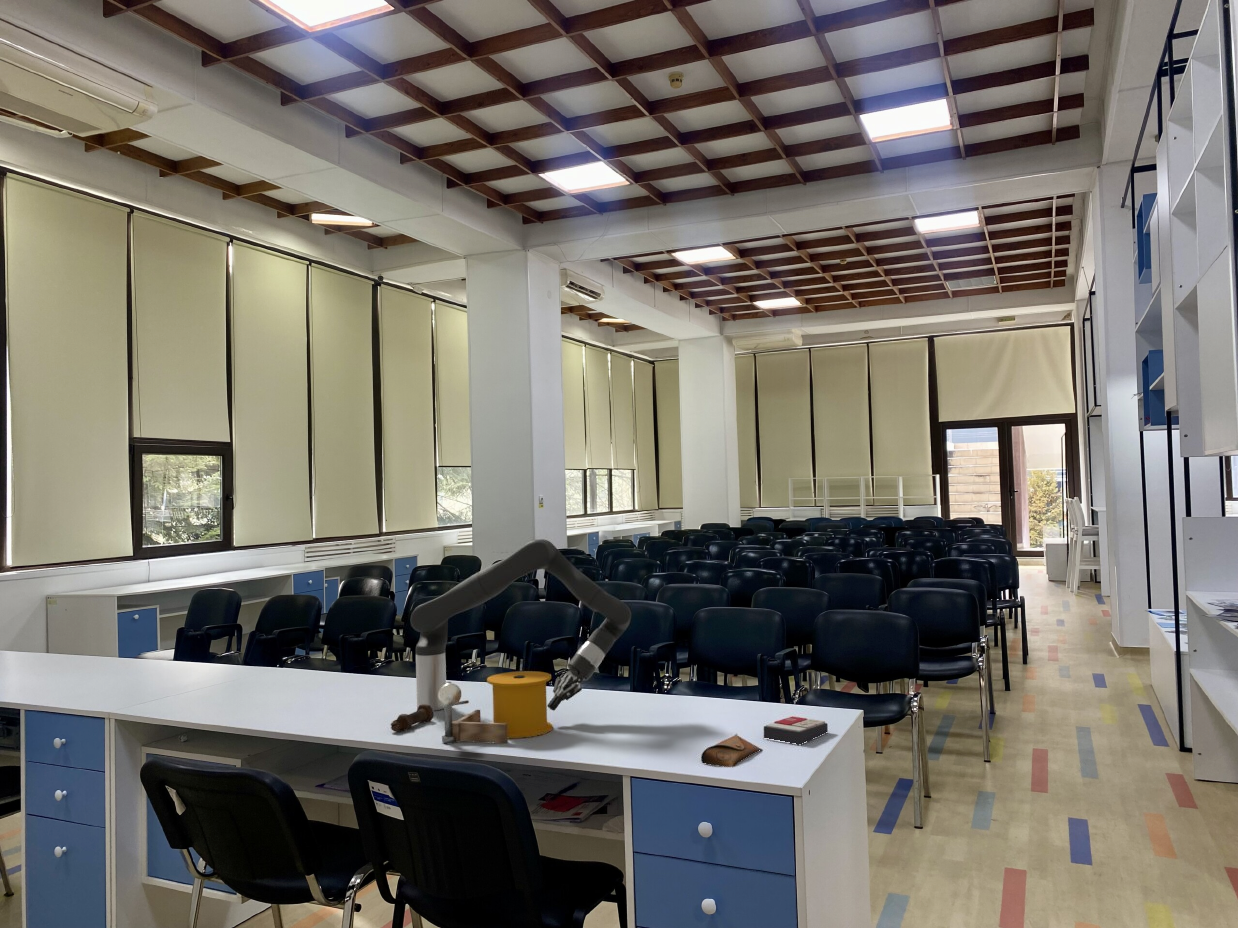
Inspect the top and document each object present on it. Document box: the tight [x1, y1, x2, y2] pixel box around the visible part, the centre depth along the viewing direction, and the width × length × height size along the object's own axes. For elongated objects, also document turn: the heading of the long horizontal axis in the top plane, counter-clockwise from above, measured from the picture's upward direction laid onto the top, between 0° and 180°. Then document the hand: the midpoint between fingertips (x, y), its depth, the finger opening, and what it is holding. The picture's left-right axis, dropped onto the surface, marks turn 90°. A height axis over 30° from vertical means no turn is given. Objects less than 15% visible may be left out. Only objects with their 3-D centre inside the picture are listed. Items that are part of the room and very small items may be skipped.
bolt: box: [390, 704, 435, 733], centre depth 260 cm, size 6×5×15 cm
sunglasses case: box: [700, 733, 763, 768], centre depth 220 cm, size 18×7×7 cm
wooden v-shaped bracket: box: [452, 709, 509, 744], centre depth 245 cm, size 12×22×5 cm, turn 30°
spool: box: [486, 670, 554, 739], centre depth 252 cm, size 18×18×15 cm
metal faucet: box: [438, 681, 470, 744], centre depth 242 cm, size 9×4×16 cm, turn 120°
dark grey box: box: [763, 716, 829, 744], centre depth 236 cm, size 11×4×15 cm
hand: (550, 708), depth 257 cm, fingers closed
